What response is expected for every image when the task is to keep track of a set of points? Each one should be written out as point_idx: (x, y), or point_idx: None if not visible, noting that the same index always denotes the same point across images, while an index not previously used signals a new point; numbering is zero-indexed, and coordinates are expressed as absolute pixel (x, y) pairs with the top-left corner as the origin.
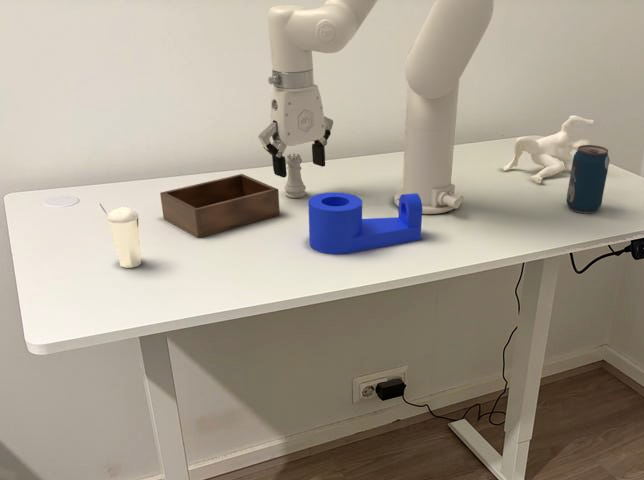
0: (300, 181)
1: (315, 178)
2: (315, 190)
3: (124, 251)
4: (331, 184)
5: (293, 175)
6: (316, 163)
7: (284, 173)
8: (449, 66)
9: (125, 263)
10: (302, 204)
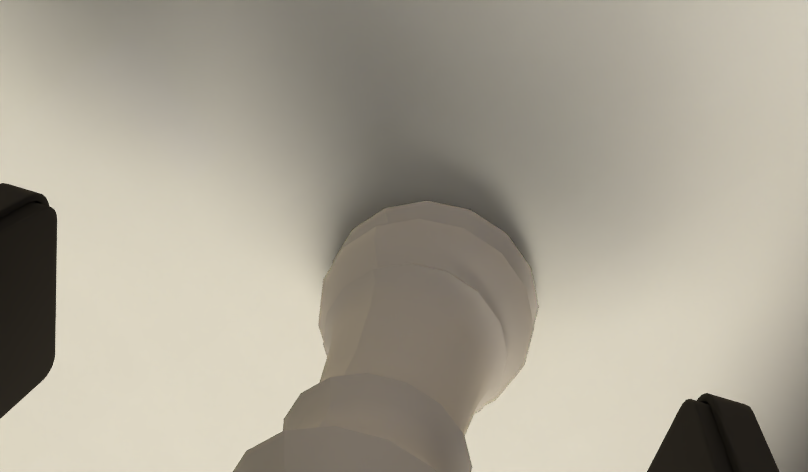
0: (402, 295)
1: None
2: (221, 211)
3: None
4: (15, 181)
5: (457, 387)
6: (46, 315)
7: (755, 433)
8: None
9: None
10: (616, 91)
